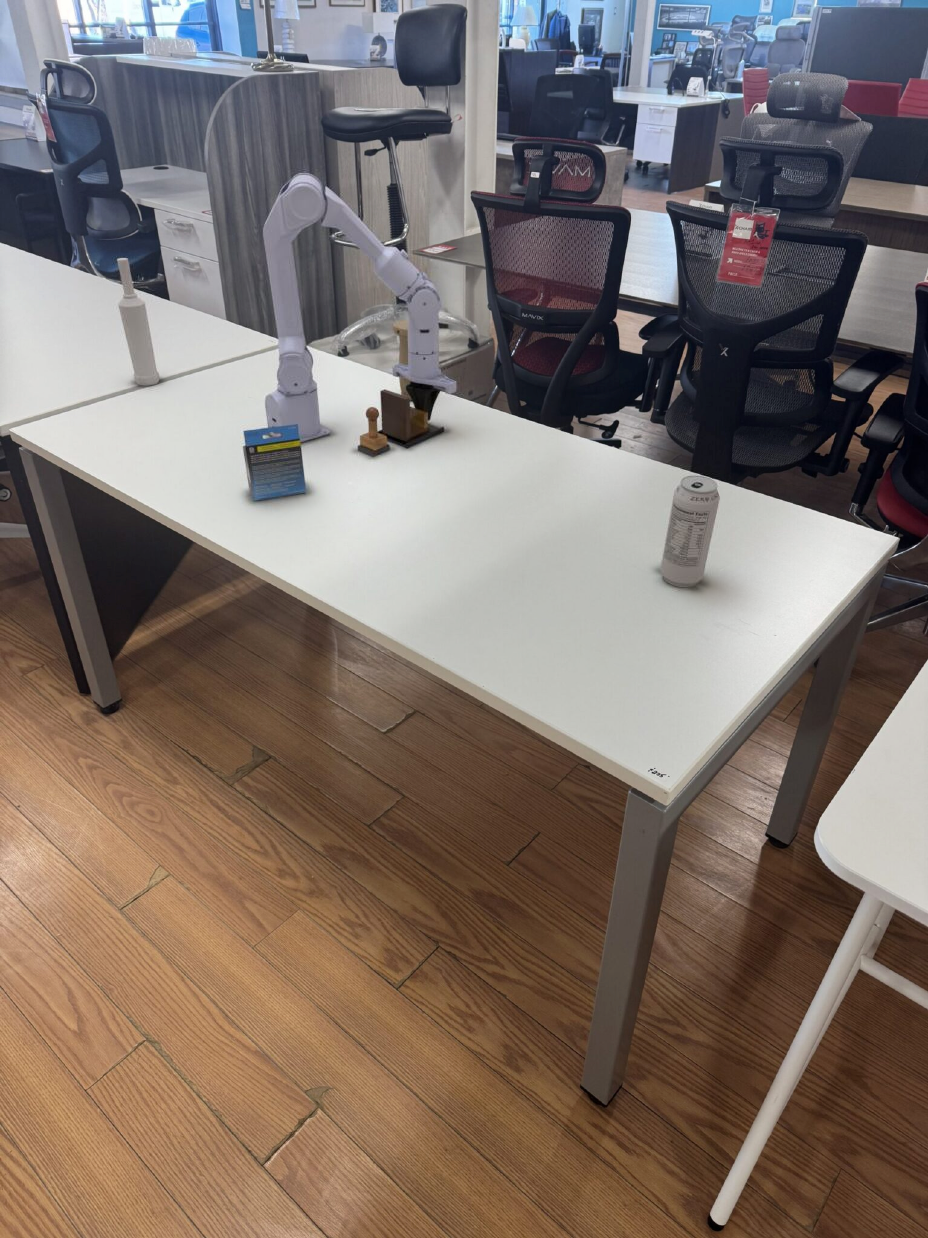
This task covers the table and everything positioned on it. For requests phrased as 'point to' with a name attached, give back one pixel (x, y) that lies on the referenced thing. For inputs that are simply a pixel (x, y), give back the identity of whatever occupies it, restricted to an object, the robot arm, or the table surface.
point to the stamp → (373, 436)
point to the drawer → (401, 417)
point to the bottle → (137, 330)
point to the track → (416, 440)
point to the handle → (402, 351)
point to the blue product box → (274, 462)
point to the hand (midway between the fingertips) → (424, 420)
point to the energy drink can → (690, 531)
